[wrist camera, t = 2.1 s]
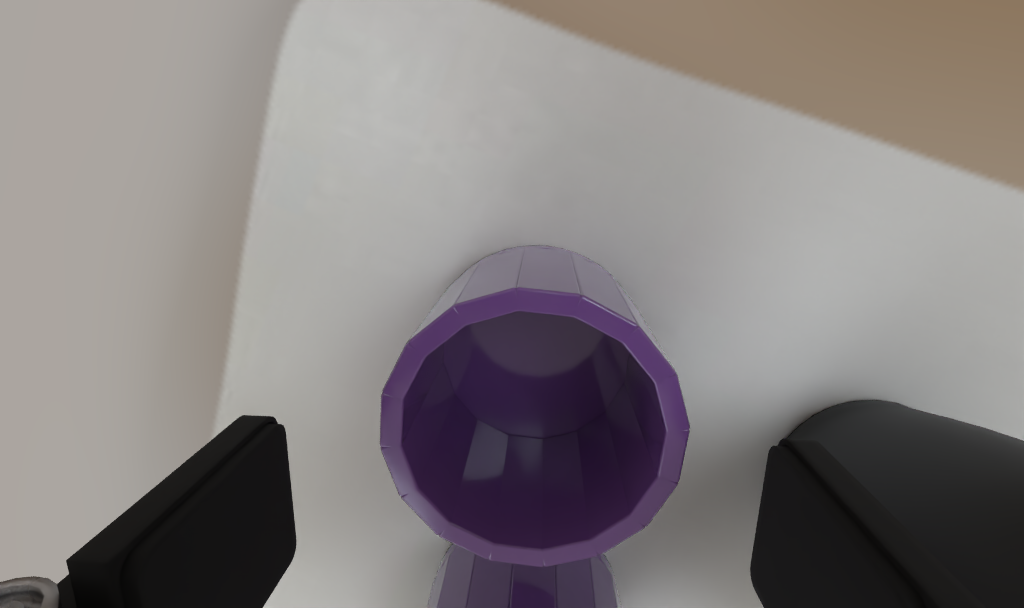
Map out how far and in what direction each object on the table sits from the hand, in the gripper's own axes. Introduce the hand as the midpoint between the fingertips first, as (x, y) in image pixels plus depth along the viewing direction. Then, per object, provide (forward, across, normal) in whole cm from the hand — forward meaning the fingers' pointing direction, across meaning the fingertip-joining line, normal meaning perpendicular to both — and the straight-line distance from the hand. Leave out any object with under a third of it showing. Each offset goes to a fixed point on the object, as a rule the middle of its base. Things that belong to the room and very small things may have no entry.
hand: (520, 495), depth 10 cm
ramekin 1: (+7, 0, -1) cm, 7 cm away
